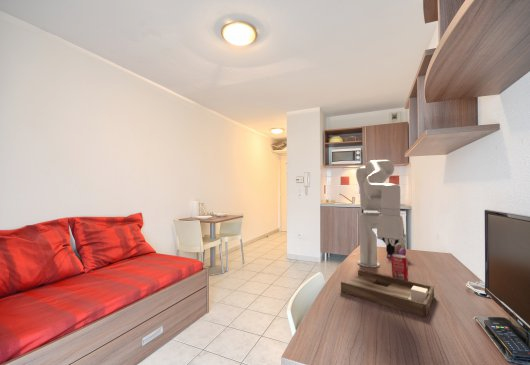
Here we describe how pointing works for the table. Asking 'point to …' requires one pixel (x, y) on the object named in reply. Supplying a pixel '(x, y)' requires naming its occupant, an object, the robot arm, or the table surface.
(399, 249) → the candy bar box
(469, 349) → the table surface
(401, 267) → the red carton
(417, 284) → the board
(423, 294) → the cream block
